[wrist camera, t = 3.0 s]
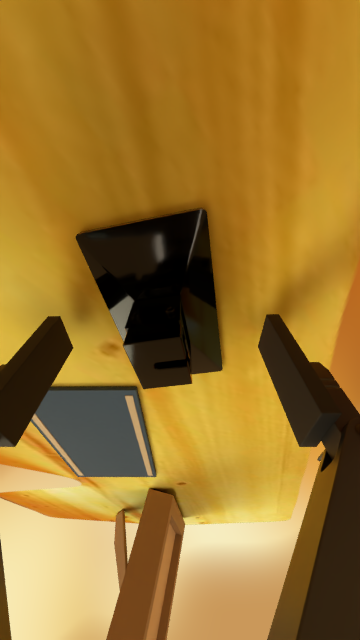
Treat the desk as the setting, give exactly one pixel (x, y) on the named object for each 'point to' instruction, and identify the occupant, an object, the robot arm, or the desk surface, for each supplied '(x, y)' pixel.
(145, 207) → the desk surface
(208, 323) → the build plate
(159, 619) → the photo frame
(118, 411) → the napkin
